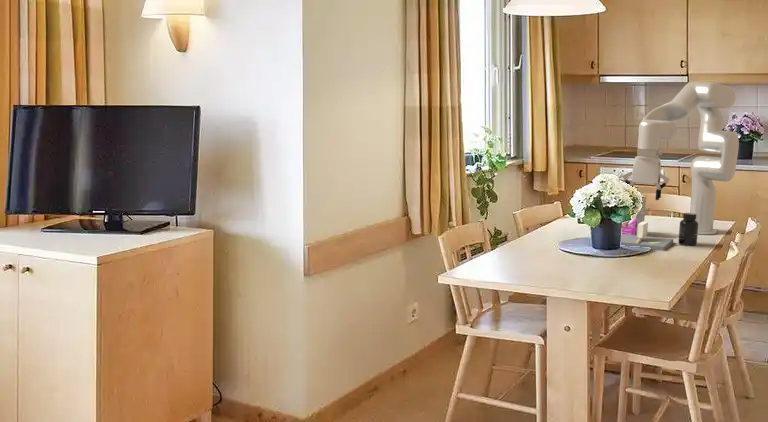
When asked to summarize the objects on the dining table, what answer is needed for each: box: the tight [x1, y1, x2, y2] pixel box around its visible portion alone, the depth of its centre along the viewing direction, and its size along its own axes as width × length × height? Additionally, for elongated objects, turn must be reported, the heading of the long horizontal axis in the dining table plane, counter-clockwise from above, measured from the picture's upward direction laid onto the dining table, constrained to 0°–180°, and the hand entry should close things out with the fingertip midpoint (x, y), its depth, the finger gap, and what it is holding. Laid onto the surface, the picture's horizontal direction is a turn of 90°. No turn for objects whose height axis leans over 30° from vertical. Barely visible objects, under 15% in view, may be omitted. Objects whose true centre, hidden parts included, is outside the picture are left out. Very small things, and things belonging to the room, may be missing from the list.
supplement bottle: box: [678, 212, 699, 247], centre depth 344 cm, size 7×7×12 cm
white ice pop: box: [636, 220, 649, 242], centre depth 341 cm, size 12×2×6 cm, turn 151°
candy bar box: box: [622, 195, 647, 235], centre depth 362 cm, size 11×5×16 cm, turn 34°
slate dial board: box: [621, 234, 674, 251], centre depth 344 cm, size 18×20×2 cm
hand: (644, 198), depth 341 cm, fingers open, 9 cm apart
